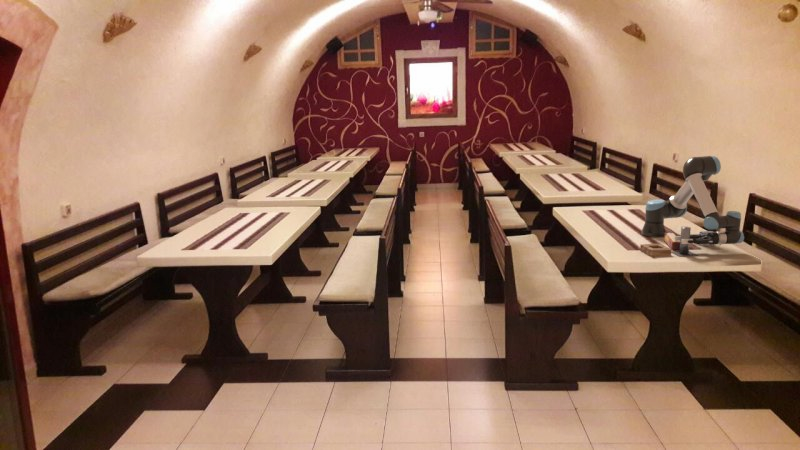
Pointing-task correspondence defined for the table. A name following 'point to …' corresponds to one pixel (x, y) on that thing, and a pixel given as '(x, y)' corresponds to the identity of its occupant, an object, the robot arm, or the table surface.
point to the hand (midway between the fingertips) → (678, 240)
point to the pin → (684, 235)
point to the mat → (683, 255)
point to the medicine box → (705, 234)
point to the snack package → (672, 241)
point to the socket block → (655, 250)
